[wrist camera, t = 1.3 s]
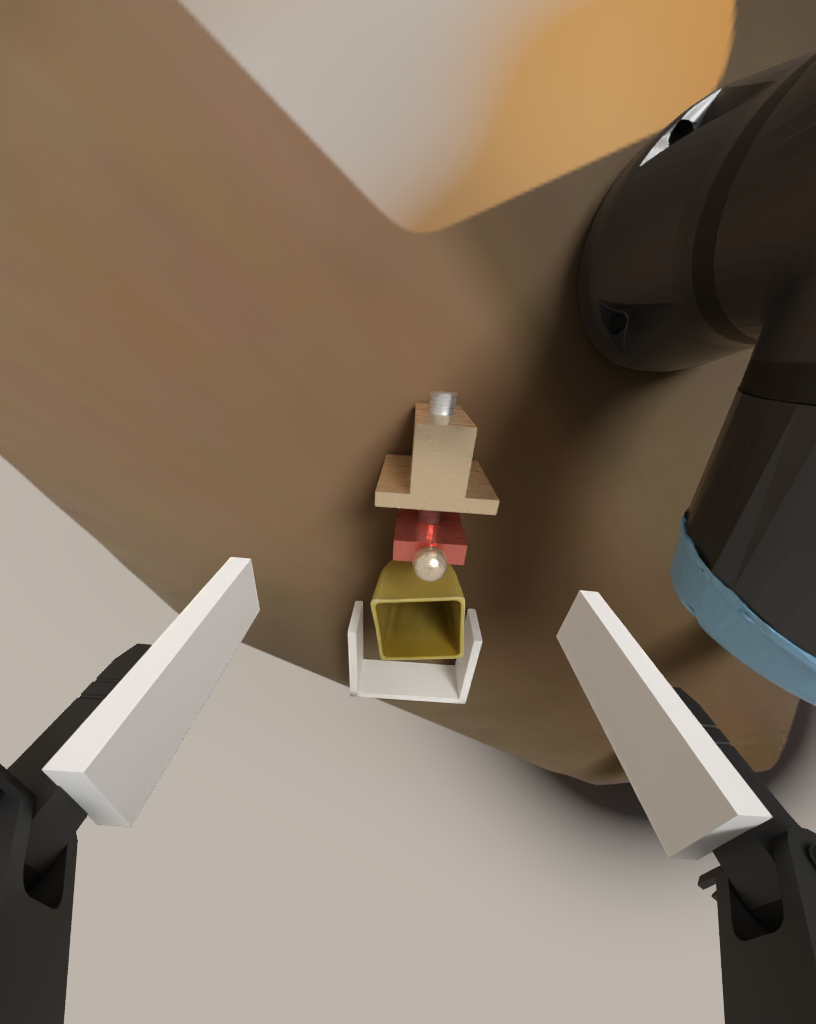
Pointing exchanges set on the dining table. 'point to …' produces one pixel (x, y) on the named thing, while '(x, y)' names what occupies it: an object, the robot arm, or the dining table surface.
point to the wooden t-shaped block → (435, 488)
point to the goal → (412, 669)
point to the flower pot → (418, 614)
